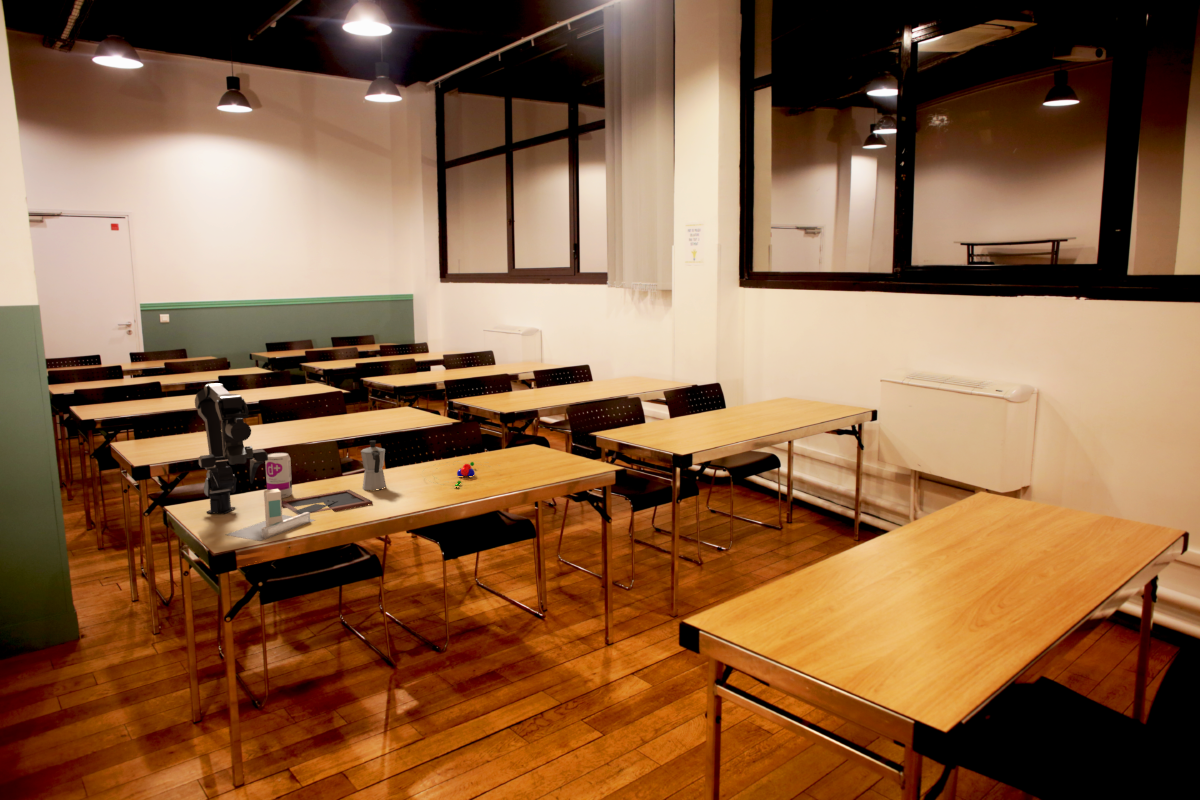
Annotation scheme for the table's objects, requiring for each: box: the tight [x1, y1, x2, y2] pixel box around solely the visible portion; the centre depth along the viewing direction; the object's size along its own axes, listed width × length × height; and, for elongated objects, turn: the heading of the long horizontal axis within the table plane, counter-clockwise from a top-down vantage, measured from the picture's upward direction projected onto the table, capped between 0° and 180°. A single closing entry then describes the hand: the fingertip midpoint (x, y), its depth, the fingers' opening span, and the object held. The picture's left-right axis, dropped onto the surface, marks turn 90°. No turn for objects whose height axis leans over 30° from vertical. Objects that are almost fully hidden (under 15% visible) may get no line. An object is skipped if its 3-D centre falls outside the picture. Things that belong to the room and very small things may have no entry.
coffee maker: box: [360, 440, 387, 491], centre depth 281 cm, size 15×9×18 cm, turn 27°
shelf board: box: [225, 514, 316, 542], centre depth 233 cm, size 14×22×1 cm, turn 157°
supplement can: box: [264, 452, 293, 499], centre depth 270 cm, size 8×8×15 cm
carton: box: [263, 489, 283, 526], centre depth 232 cm, size 4×4×12 cm
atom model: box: [421, 460, 501, 487], centre depth 299 cm, size 35×34×6 cm
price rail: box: [261, 512, 311, 540], centre depth 230 cm, size 1×18×3 cm, turn 157°
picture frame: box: [281, 489, 373, 515], centre depth 261 cm, size 20×2×25 cm
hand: (235, 485), depth 236 cm, fingers open, 9 cm apart
